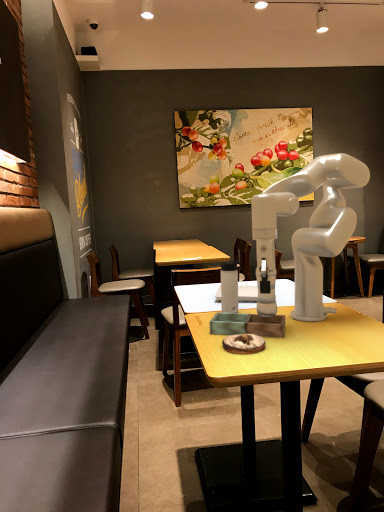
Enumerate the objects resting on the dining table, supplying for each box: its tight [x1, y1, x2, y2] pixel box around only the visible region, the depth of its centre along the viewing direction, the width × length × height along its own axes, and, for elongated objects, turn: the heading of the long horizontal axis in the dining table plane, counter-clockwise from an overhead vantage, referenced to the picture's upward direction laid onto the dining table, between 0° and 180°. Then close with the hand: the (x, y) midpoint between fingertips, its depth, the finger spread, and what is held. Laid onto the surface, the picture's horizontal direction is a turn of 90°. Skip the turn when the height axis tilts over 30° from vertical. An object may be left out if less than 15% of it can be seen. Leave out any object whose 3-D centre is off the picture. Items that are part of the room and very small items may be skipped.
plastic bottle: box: [255, 262, 278, 317], centre depth 126 cm, size 6×7×20 cm
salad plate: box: [214, 285, 258, 303], centre depth 174 cm, size 21×21×3 cm
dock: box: [209, 312, 286, 339], centre depth 128 cm, size 23×11×4 cm, turn 75°
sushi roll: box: [221, 334, 267, 355], centre depth 114 cm, size 15×15×4 cm
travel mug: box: [220, 260, 239, 313], centre depth 147 cm, size 6×7×20 cm
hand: (266, 290), depth 126 cm, fingers closed on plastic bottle, 6 cm apart
